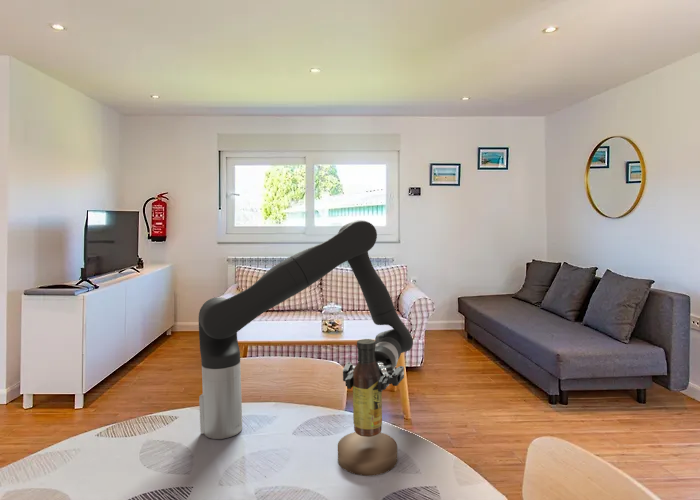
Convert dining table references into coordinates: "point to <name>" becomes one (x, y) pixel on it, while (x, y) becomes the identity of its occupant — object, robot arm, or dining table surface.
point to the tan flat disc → (367, 454)
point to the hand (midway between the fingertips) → (364, 385)
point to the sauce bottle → (366, 391)
